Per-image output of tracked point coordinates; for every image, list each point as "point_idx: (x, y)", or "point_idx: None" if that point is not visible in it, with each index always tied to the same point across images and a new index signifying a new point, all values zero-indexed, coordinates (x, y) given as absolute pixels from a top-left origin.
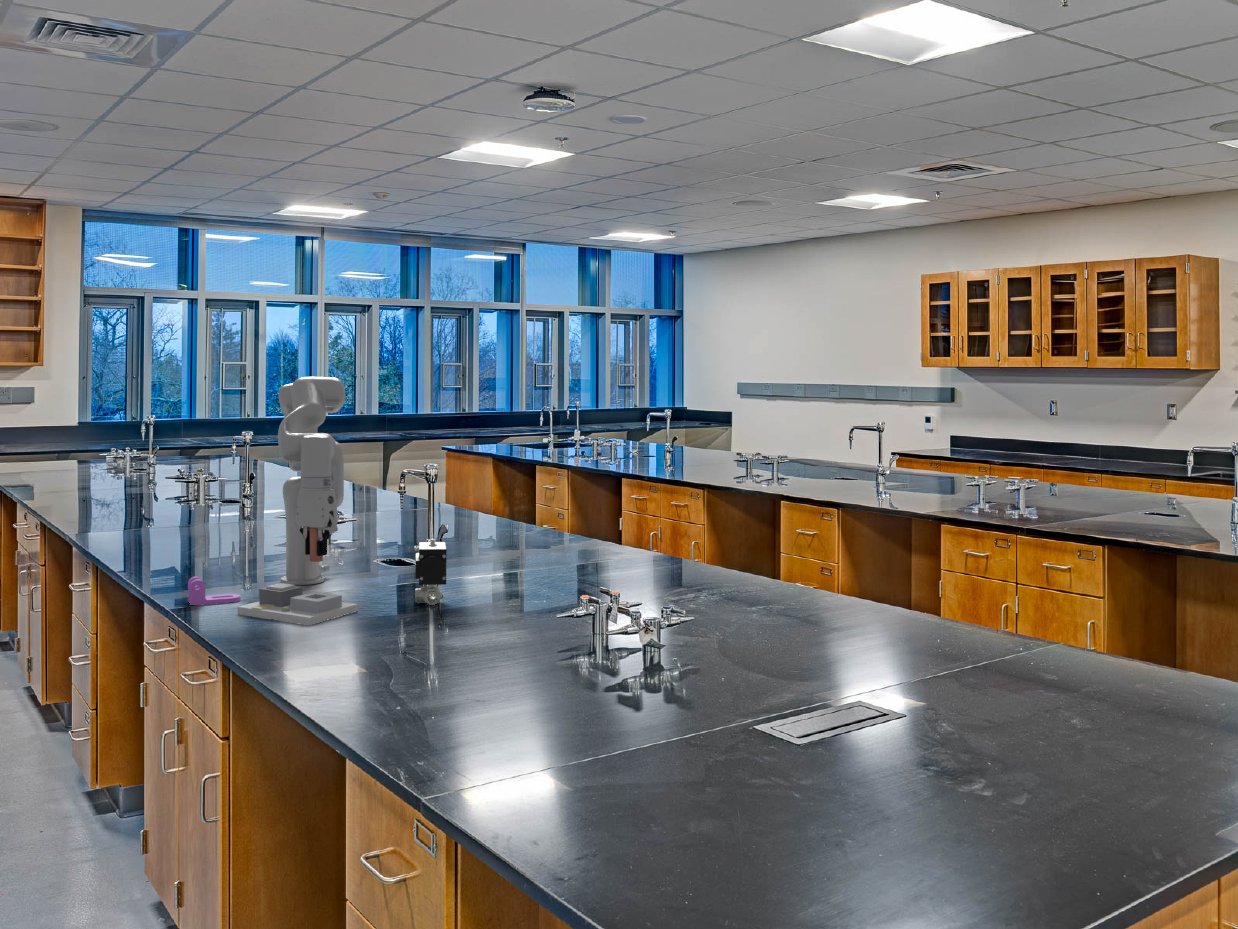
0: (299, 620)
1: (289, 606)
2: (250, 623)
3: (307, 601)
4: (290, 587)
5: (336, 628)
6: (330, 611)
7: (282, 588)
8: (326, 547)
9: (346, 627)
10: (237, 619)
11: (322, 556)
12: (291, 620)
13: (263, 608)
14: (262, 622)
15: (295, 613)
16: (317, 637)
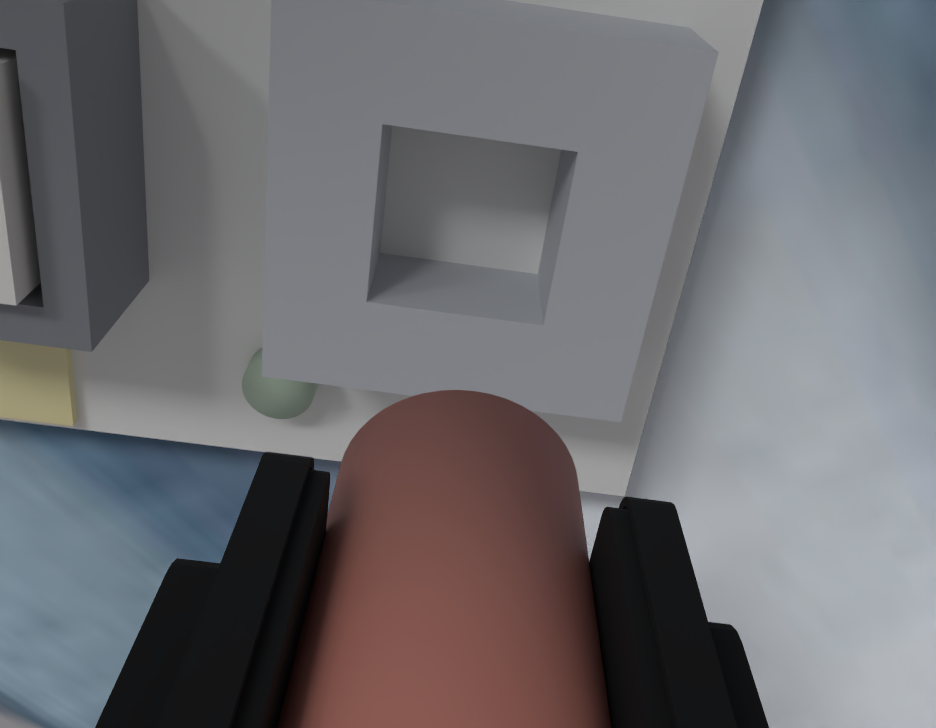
0: None
1: (190, 227)
2: (183, 533)
3: None
4: (5, 147)
5: (848, 453)
6: (679, 260)
7: (15, 281)
8: (753, 721)
9: (914, 406)
10: (6, 478)
11: (582, 521)
12: None
13: (73, 394)
14: (233, 488)
15: None
16: (819, 657)
